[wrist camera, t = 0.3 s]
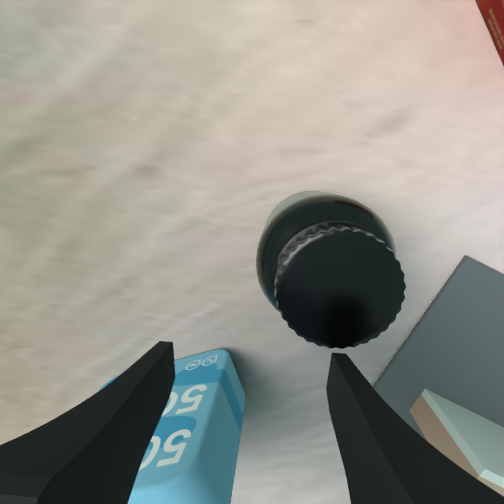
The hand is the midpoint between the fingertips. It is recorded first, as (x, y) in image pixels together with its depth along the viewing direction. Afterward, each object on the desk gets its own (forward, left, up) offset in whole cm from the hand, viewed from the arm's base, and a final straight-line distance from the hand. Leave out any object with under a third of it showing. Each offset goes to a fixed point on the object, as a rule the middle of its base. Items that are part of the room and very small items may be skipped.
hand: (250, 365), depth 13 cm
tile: (-3, -20, -10) cm, 23 cm away
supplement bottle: (+5, -1, -11) cm, 12 cm away
